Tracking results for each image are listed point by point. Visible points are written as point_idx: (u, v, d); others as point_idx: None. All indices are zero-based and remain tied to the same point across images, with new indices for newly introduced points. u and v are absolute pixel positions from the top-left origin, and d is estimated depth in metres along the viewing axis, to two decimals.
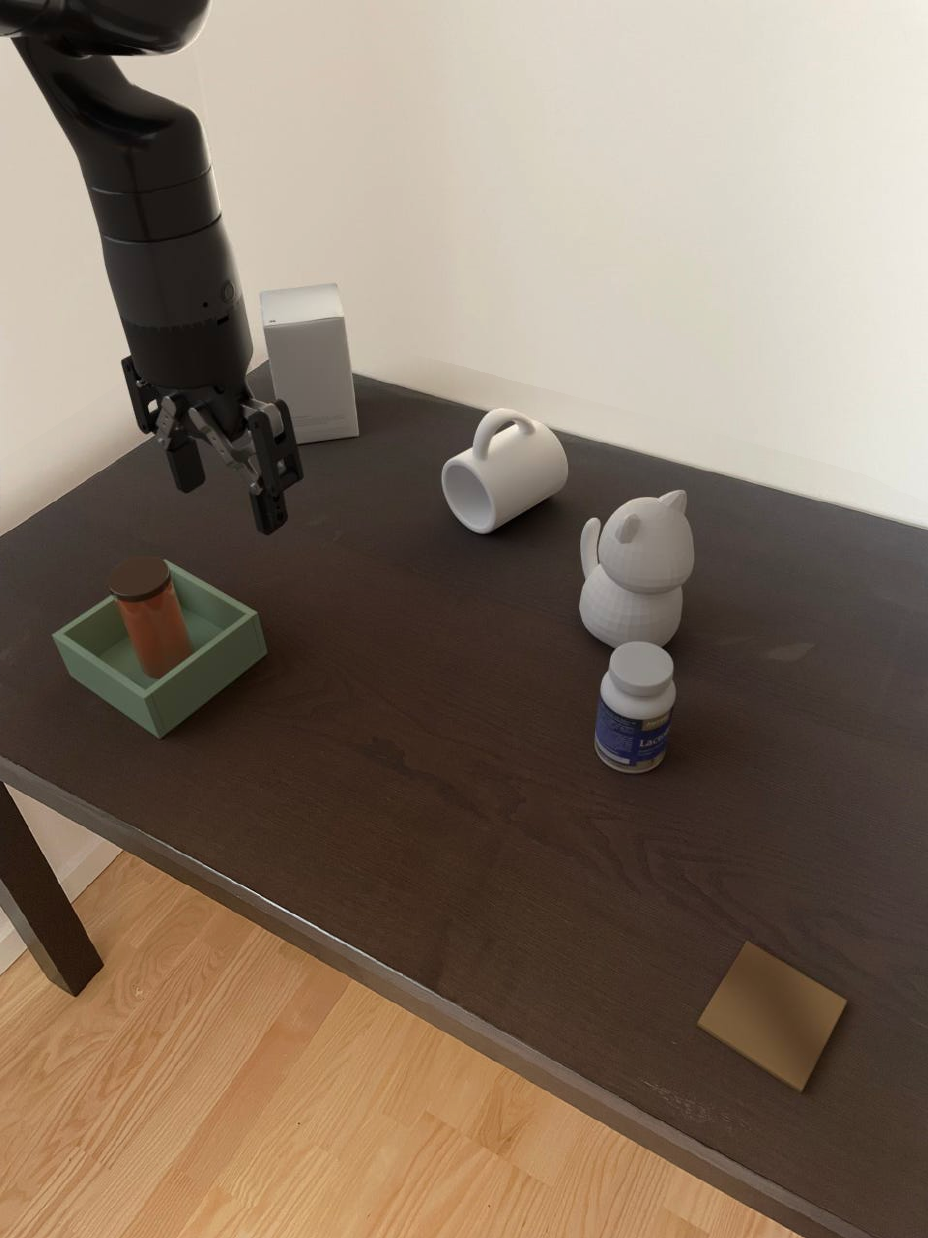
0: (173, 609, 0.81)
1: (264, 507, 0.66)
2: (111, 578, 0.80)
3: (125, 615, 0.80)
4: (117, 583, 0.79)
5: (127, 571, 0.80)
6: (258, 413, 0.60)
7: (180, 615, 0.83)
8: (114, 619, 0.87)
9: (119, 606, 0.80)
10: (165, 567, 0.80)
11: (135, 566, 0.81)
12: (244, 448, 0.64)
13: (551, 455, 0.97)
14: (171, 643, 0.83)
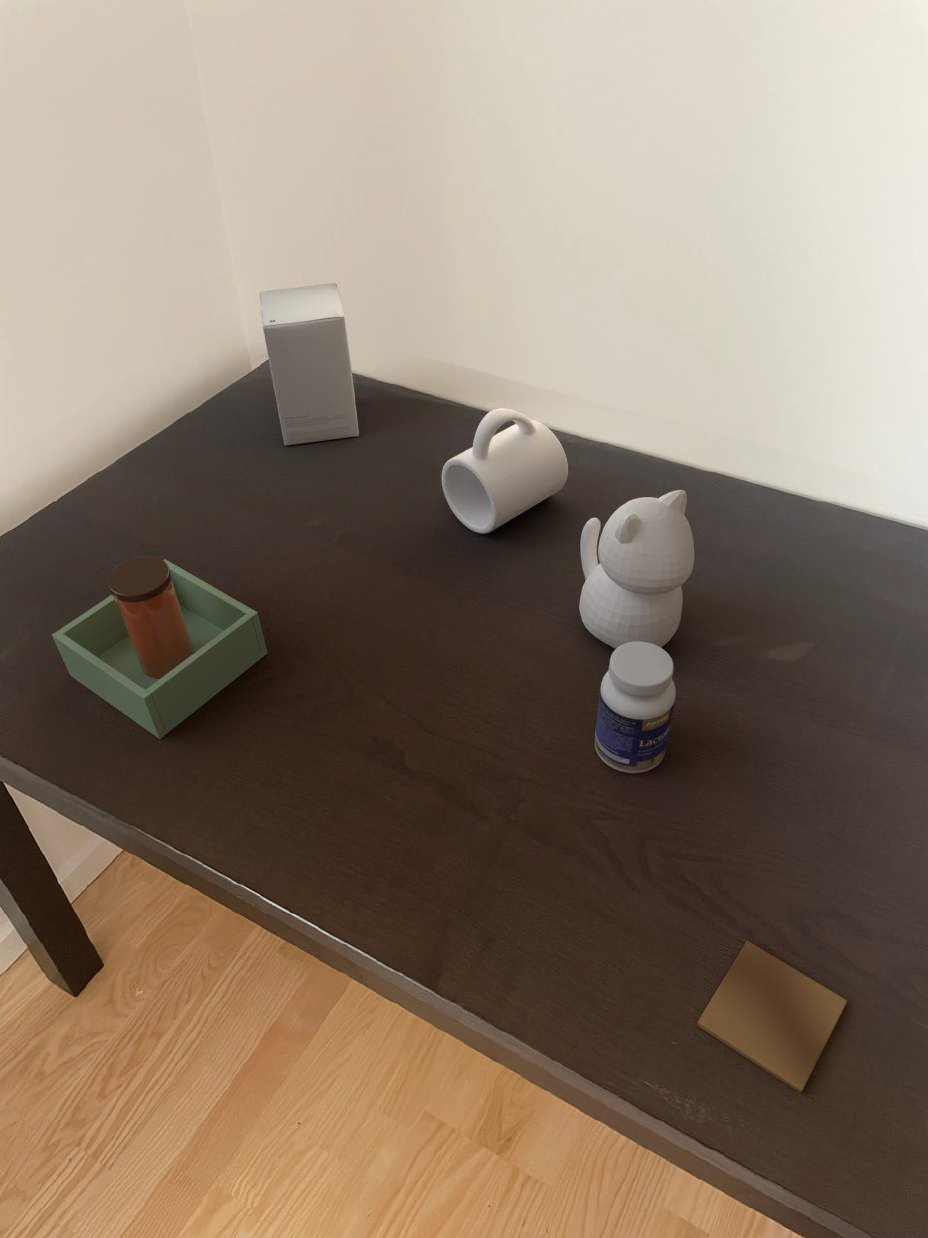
0: (173, 609, 0.81)
1: None
2: (111, 578, 0.80)
3: (125, 615, 0.80)
4: (117, 583, 0.79)
5: (127, 571, 0.80)
6: None
7: (180, 615, 0.83)
8: (114, 619, 0.87)
9: (119, 606, 0.80)
10: (165, 567, 0.80)
11: (135, 566, 0.81)
12: None
13: (551, 455, 0.97)
14: (171, 643, 0.83)
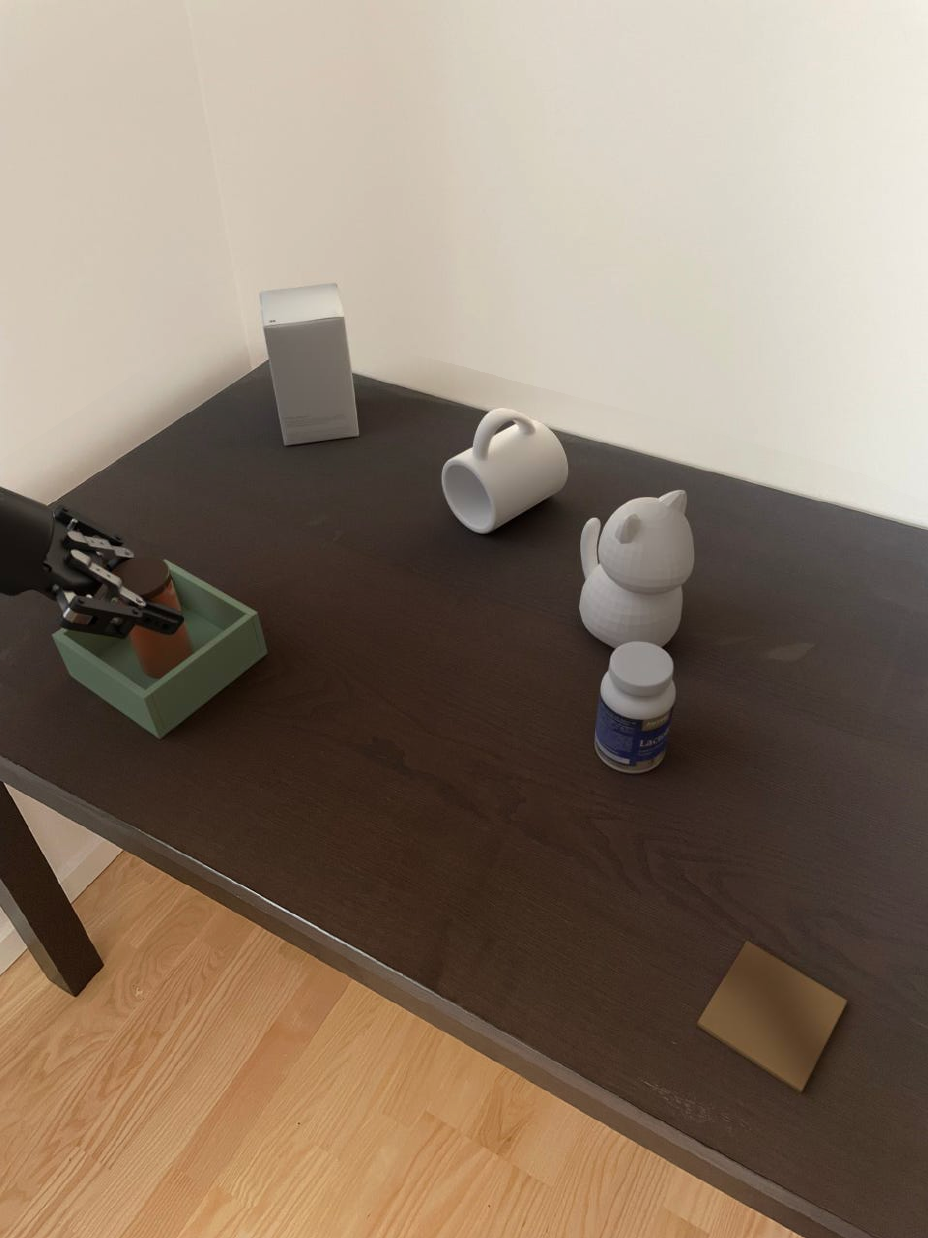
0: None
1: None
2: None
3: None
4: None
5: (127, 571, 0.80)
6: (56, 509, 0.80)
7: None
8: None
9: None
10: (165, 567, 0.80)
11: (135, 566, 0.81)
12: None
13: (551, 455, 0.97)
14: (171, 643, 0.83)
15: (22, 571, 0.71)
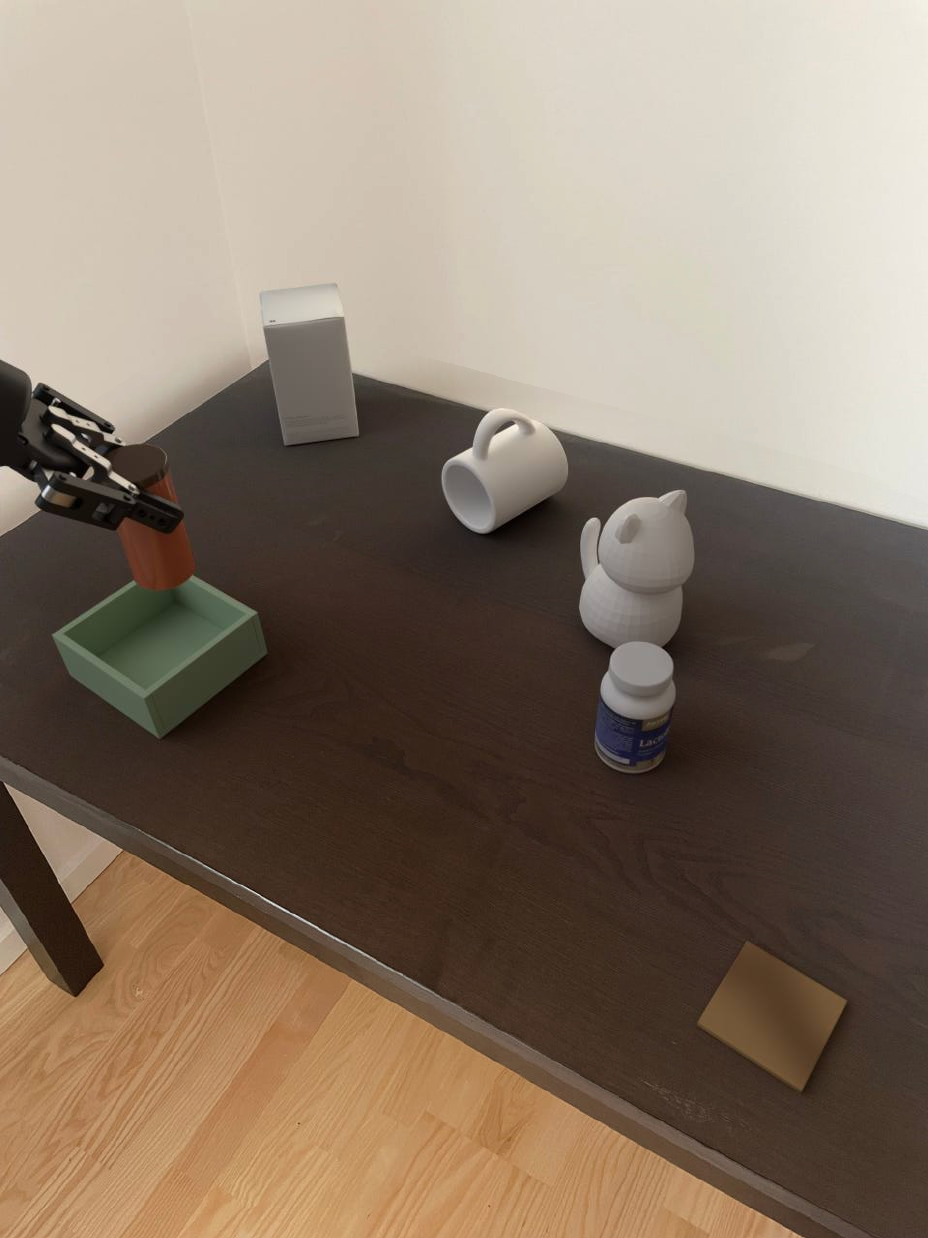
0: None
1: None
2: None
3: None
4: None
5: (118, 459, 0.69)
6: None
7: None
8: (114, 619, 0.87)
9: None
10: (161, 455, 0.69)
11: (127, 454, 0.70)
12: (82, 434, 0.69)
13: (551, 455, 0.97)
14: (169, 546, 0.72)
15: None
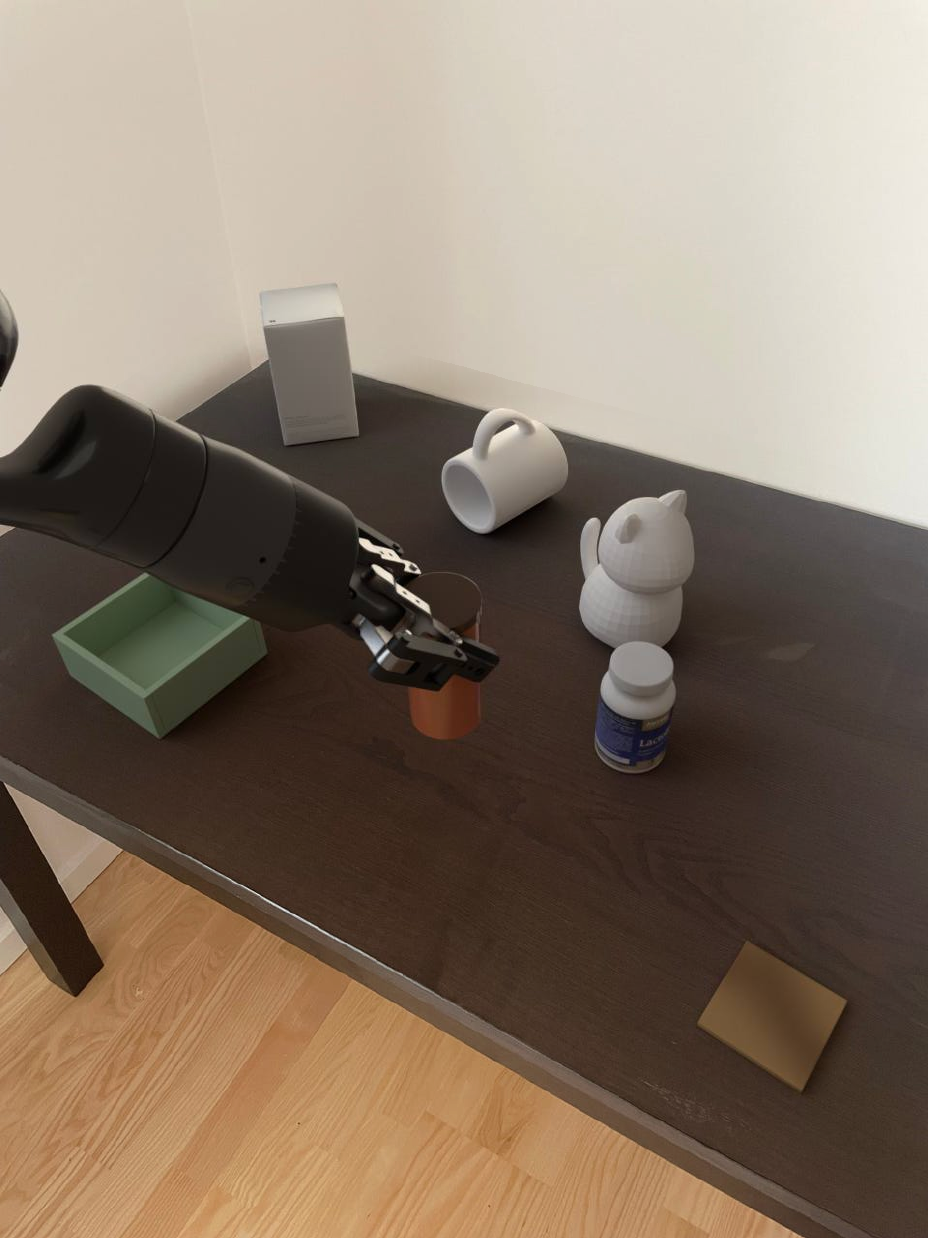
0: None
1: None
2: None
3: None
4: None
5: (422, 593, 0.57)
6: None
7: None
8: (114, 619, 0.87)
9: None
10: (473, 588, 0.57)
11: (431, 586, 0.58)
12: None
13: (551, 455, 0.97)
14: (470, 692, 0.60)
15: (322, 597, 0.48)
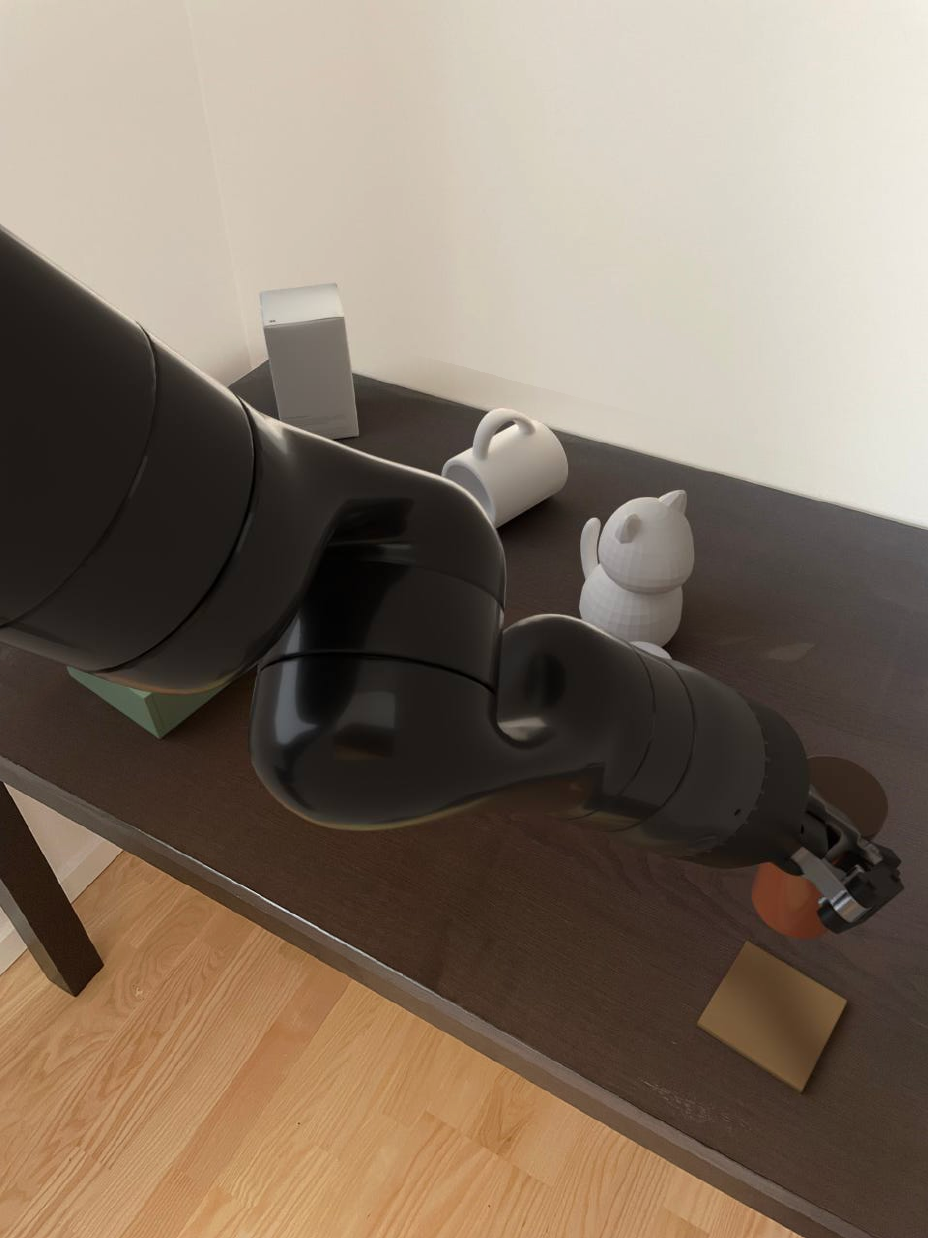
0: None
1: None
2: None
3: None
4: None
5: None
6: None
7: None
8: None
9: None
10: (870, 779, 0.49)
11: (818, 776, 0.49)
12: None
13: (551, 455, 0.97)
14: None
15: (777, 838, 0.39)
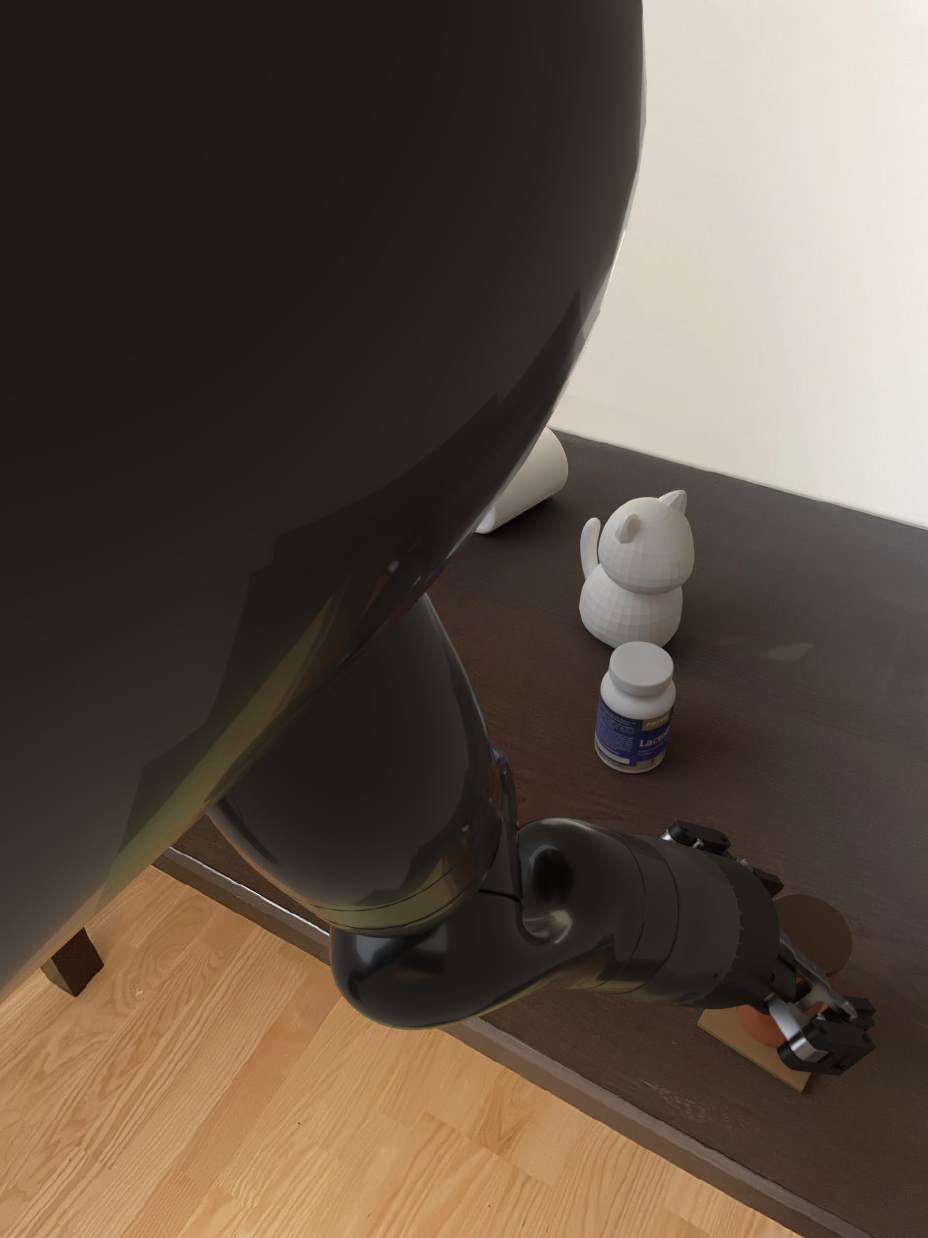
0: None
1: None
2: None
3: None
4: None
5: (786, 924, 0.56)
6: (673, 830, 0.55)
7: None
8: None
9: None
10: (838, 918, 0.56)
11: (792, 914, 0.56)
12: None
13: (551, 455, 0.97)
14: (819, 1011, 0.58)
15: (750, 989, 0.46)
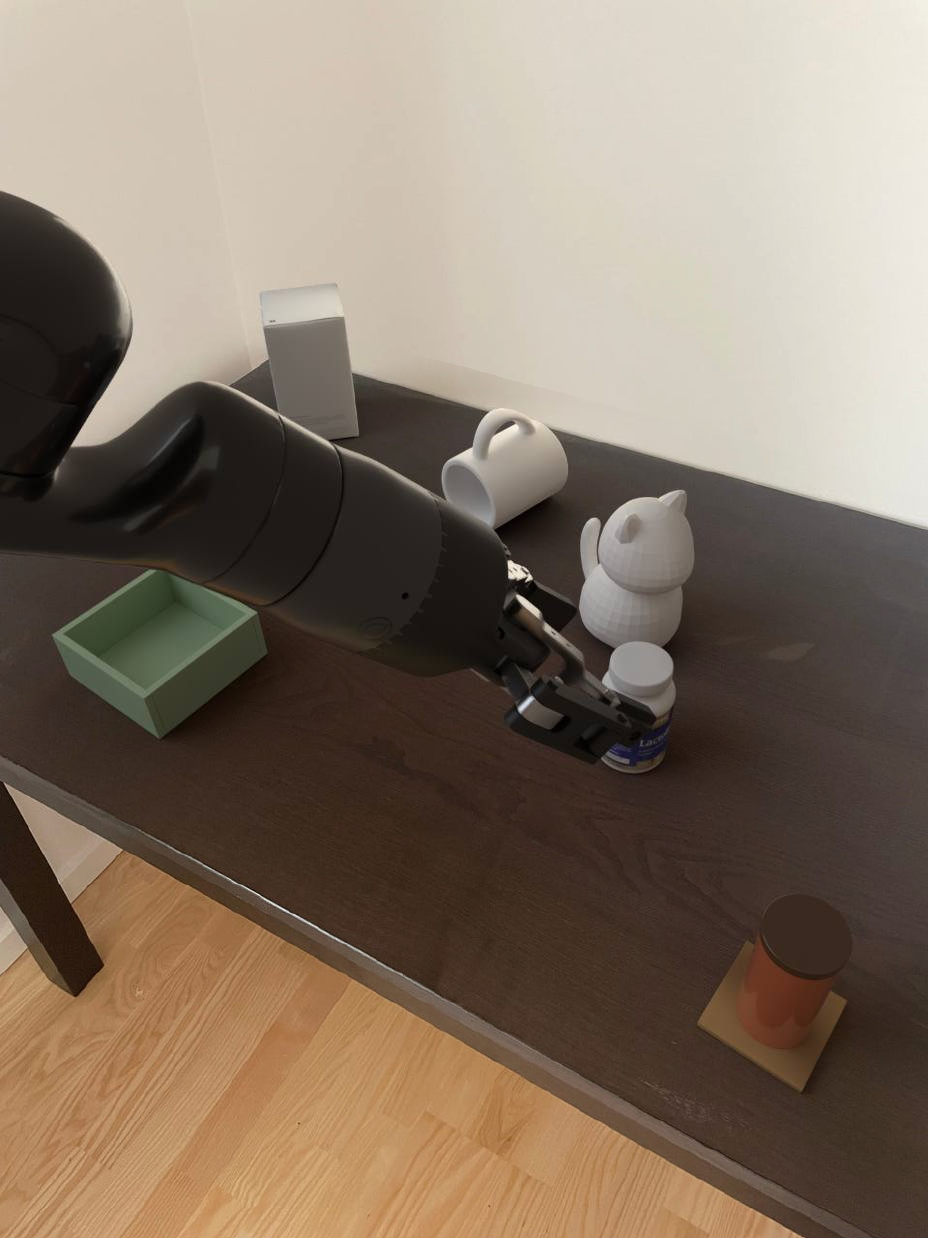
0: None
1: None
2: (769, 937, 0.55)
3: (784, 988, 0.55)
4: (784, 948, 0.54)
5: (786, 924, 0.56)
6: None
7: None
8: (114, 619, 0.87)
9: (779, 977, 0.55)
10: (838, 918, 0.56)
11: (792, 914, 0.56)
12: None
13: (551, 455, 0.97)
14: (819, 1011, 0.58)
15: (467, 638, 0.40)
